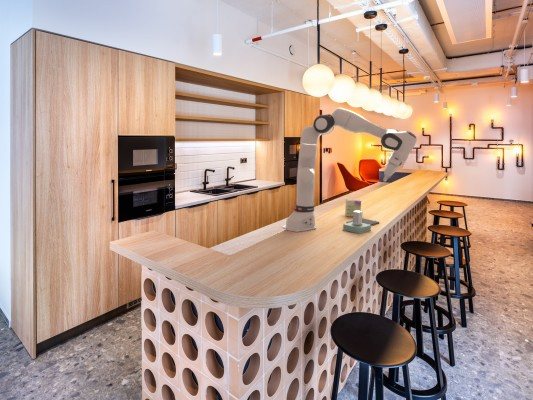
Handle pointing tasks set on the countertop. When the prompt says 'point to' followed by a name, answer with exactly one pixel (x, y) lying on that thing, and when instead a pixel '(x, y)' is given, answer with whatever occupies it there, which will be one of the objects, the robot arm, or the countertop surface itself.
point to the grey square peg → (357, 218)
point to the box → (352, 206)
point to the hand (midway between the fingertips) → (386, 179)
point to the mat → (367, 221)
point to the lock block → (357, 227)
